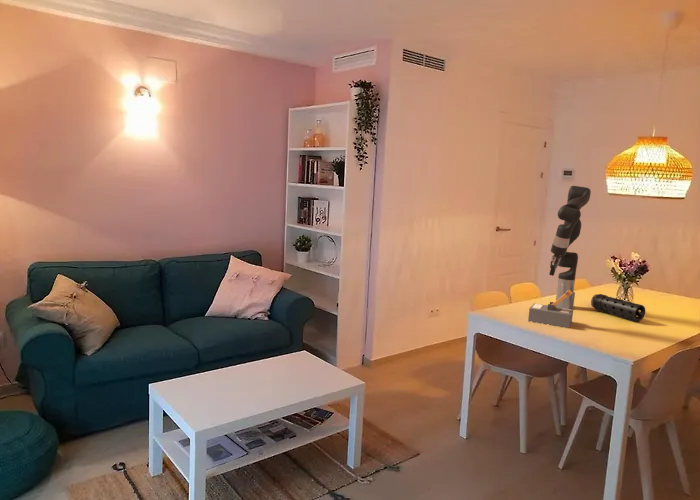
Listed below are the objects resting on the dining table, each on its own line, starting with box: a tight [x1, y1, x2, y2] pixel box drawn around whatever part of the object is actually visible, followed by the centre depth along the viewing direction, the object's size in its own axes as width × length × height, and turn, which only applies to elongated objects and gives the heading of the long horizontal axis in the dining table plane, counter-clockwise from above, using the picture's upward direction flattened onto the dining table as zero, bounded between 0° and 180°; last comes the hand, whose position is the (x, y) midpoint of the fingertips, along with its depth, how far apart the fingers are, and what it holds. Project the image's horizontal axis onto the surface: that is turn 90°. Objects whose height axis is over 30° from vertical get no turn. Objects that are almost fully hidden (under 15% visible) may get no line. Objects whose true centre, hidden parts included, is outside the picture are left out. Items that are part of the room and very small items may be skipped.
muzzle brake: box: [590, 293, 646, 323], centre depth 295 cm, size 10×28×10 cm, turn 27°
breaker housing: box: [527, 301, 574, 329], centre depth 275 cm, size 20×14×10 cm
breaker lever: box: [551, 289, 573, 307], centre depth 272 cm, size 2×5×13 cm
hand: (551, 274), depth 274 cm, fingers closed
